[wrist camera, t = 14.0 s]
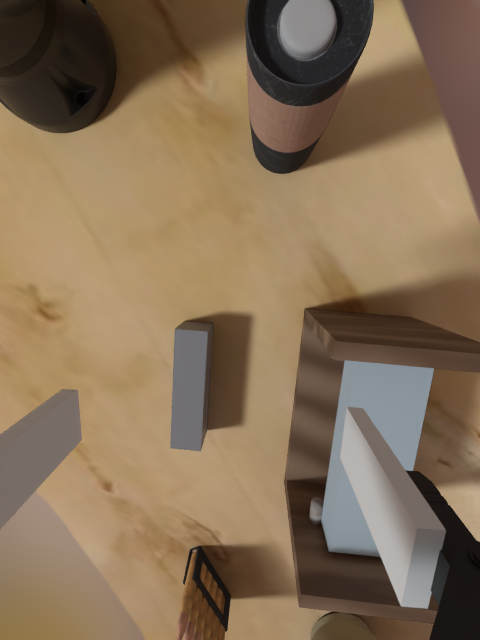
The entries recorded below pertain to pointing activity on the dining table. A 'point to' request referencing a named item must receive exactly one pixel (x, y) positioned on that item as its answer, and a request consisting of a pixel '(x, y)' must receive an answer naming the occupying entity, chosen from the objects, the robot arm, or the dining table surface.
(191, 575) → the ammunition clip
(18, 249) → the dining table surface
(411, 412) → the shelf board
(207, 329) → the grey rectangular block
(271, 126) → the travel mug
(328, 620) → the planter bowl
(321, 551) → the shelf frame
